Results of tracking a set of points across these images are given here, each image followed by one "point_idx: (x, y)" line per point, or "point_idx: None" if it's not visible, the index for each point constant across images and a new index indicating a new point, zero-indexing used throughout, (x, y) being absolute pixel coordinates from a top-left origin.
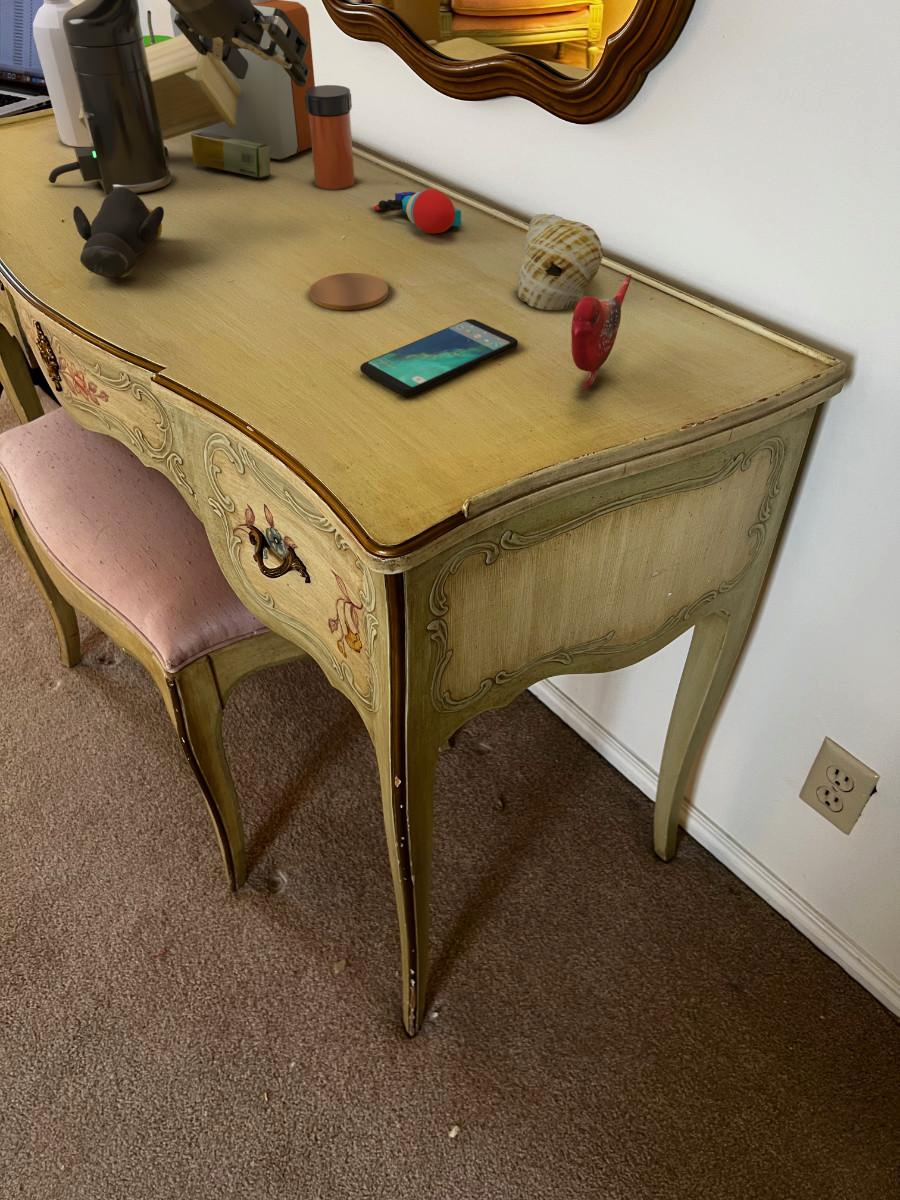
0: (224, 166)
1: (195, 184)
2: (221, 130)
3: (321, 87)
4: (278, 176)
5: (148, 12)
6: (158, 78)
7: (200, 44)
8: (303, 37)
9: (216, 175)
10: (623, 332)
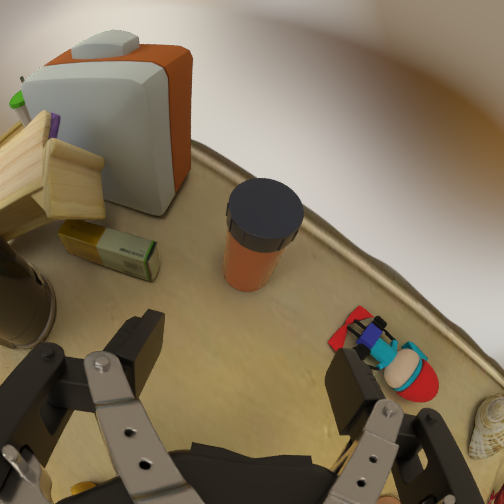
0: (103, 264)
1: (81, 304)
2: None
3: (248, 190)
4: (169, 260)
5: (21, 77)
6: (6, 205)
7: (61, 431)
8: (450, 432)
9: (96, 270)
10: (501, 450)
